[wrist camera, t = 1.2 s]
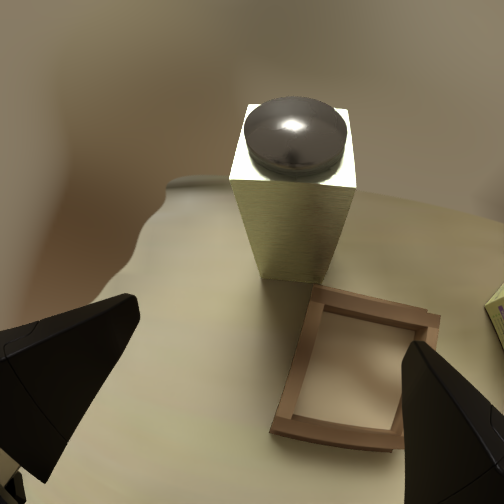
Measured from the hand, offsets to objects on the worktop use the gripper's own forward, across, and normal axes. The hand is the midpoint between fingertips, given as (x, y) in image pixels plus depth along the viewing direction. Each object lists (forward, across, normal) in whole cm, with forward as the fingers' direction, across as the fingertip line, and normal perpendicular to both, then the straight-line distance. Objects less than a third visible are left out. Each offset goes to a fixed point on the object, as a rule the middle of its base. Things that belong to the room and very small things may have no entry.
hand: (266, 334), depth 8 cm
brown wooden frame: (+9, -6, +10) cm, 15 cm away
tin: (+15, 0, +4) cm, 16 cm away
